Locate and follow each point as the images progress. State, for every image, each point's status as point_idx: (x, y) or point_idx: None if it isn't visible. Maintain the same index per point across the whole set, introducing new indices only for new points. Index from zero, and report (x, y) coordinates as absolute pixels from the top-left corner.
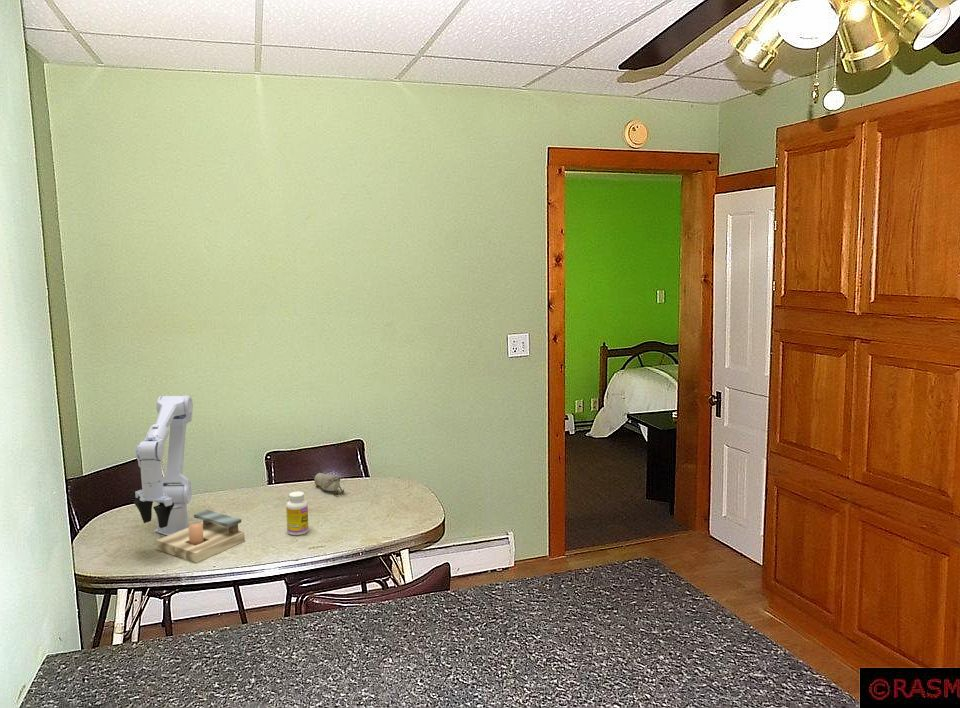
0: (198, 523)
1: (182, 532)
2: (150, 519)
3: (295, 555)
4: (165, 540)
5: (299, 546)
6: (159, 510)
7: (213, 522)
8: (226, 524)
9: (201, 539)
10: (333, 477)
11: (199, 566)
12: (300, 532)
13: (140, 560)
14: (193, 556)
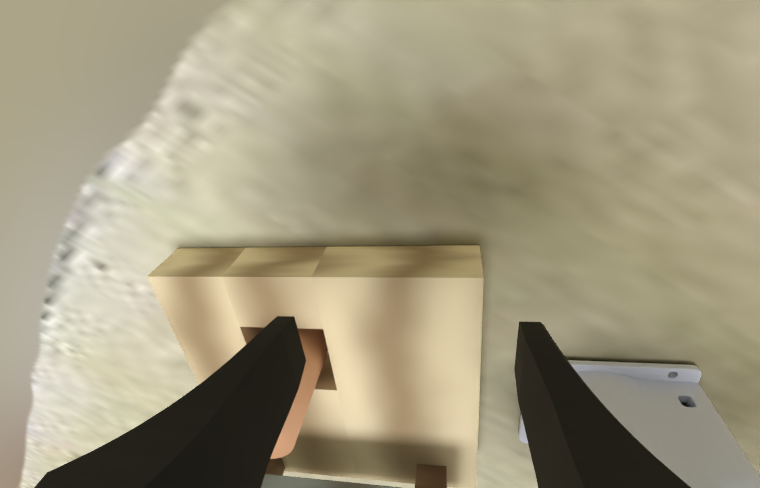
0: (273, 453)
1: (447, 389)
2: (516, 378)
3: (49, 419)
4: (430, 298)
5: None
6: (40, 480)
7: (310, 483)
8: None
9: None
10: None
11: (134, 234)
12: None
13: (427, 106)
14: (178, 264)
